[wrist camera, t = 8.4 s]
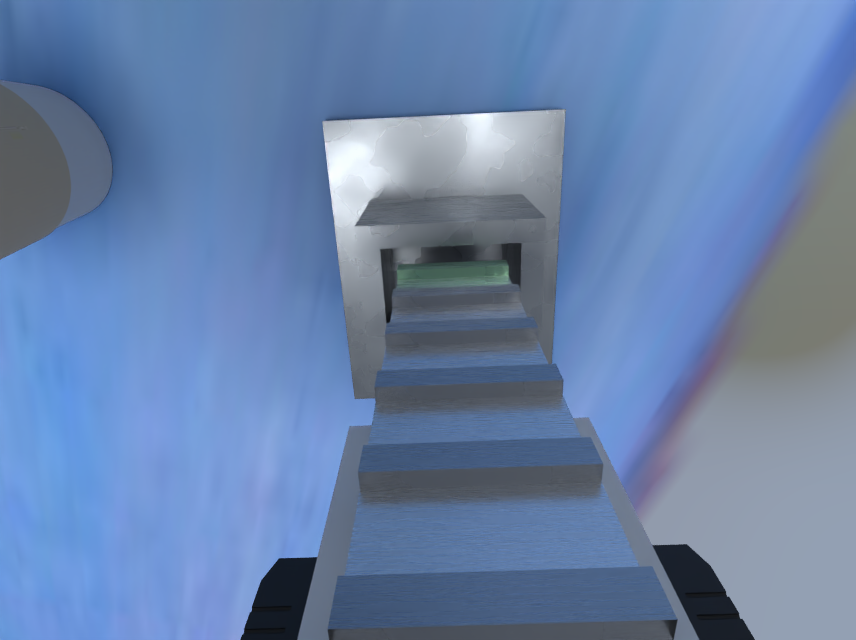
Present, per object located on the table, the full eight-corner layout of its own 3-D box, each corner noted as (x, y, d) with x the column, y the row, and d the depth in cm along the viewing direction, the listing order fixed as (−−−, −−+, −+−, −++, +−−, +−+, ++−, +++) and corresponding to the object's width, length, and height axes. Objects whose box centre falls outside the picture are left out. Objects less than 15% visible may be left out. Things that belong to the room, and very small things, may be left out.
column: (407, 377, 24) (314, 1536, 5) (398, 244, 22) (115, 1545, 2) (501, 374, 24) (808, 1543, 5) (503, 240, 22) (1195, 1553, 2)
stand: (356, 390, 33) (336, 472, 26) (325, 120, 26) (287, 127, 19) (546, 383, 32) (579, 463, 25) (560, 108, 26) (610, 112, 19)
